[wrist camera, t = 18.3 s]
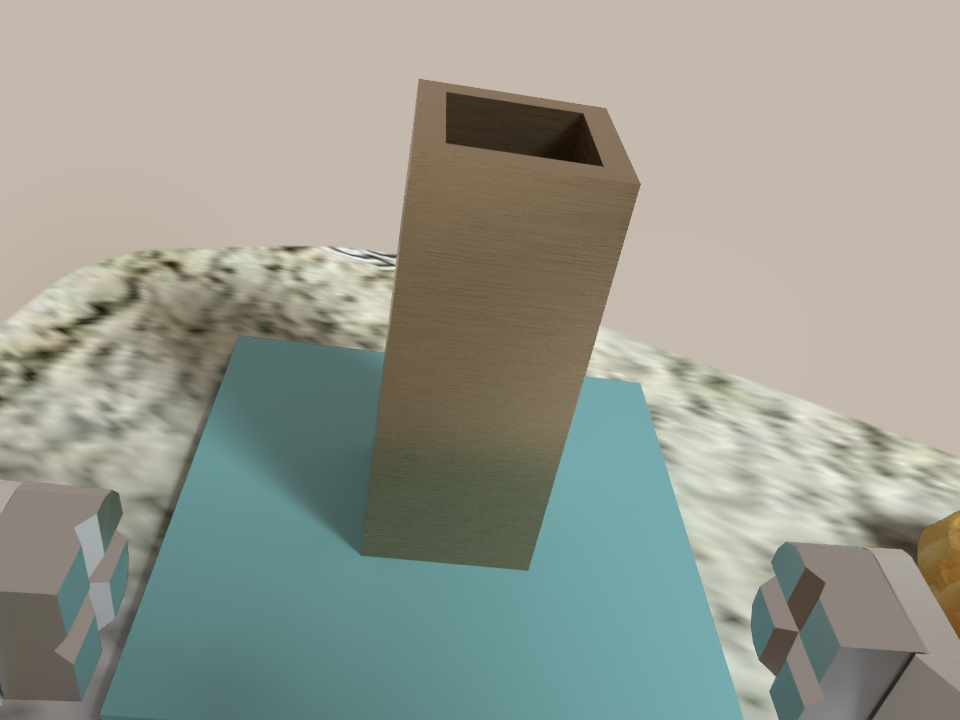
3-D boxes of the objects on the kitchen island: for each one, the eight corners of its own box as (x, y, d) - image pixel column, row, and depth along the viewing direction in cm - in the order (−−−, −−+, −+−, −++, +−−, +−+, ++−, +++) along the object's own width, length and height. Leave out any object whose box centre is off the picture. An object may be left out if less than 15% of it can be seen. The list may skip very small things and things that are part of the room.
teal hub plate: (636, 393, 39) (666, 305, 37) (748, 770, 25) (812, 668, 22) (238, 346, 37) (239, 249, 35) (101, 728, 23) (83, 610, 20)
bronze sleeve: (517, 459, 33) (606, 108, 25) (528, 570, 29) (640, 184, 21) (373, 444, 33) (418, 78, 25) (361, 555, 28) (412, 150, 20)
